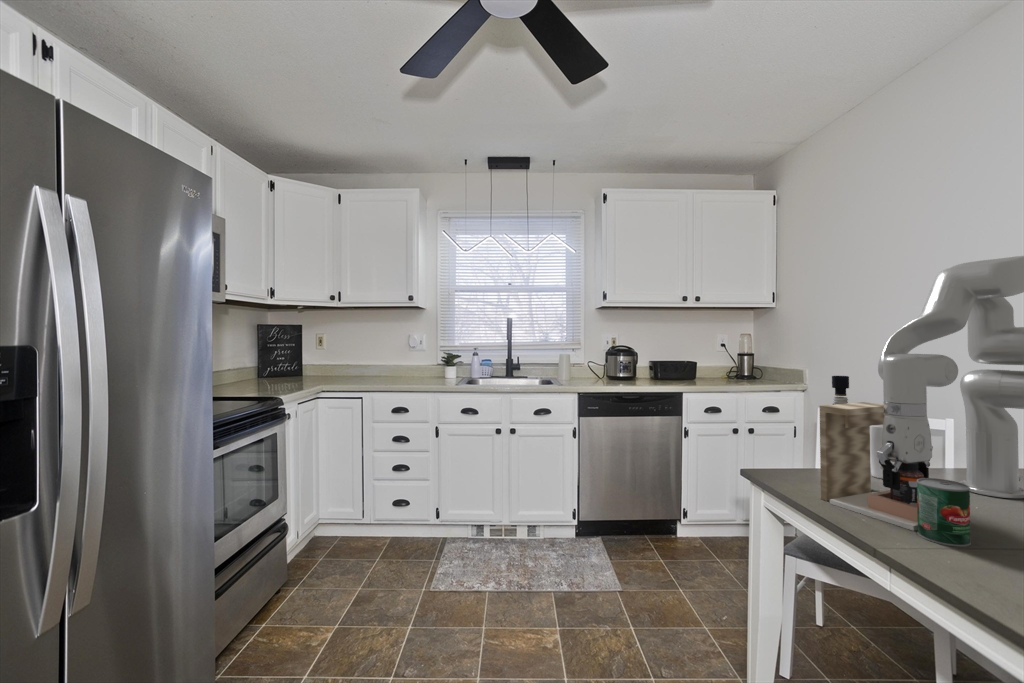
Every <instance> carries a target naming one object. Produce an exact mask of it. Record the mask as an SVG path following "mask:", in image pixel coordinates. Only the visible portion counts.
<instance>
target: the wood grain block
mask: <svg viewBox="0 0 1024 683" xmlns="http://www.w3.org/2000/svg"><path fill="white" fill-rule="evenodd" d="M884 417H885V416H884V403H882V404H881V403H874V402H865V401H863V402H862V401H861V402H848V403H847V404H835V405H833V404H824V405H823V404H822V405H819V446H820V447H819V451H820V452H819V455H820V458H819V459H820V460H819V461H820V500H822V501H825V502H828V501H829V502H830V499H835V498H841V497H846V496H852V495H858V494H863V493H869V492H872V485H871V484H872V481H871V478H872V475H871V466H870V426H874V425H883V423H884Z"/></svg>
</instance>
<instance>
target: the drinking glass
mask: <svg viewBox="0 0 1024 683" xmlns="http://www.w3.org/2000/svg"><path fill="white" fill-rule="evenodd" d="M882 432H883V425H874V426H870V471H871V477H872V476H873V477H874V478H876V479H882V480H883V469H881V465H880V463H879V459H878V456H877V451H878V450H879V449H880V448H882ZM890 462H891V463H892V464H894V462H892V461H890Z"/></svg>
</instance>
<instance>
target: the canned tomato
mask: <svg viewBox="0 0 1024 683" xmlns="http://www.w3.org/2000/svg"><path fill="white" fill-rule="evenodd" d="M959 482H960V481H959ZM959 482H958V481H954V480H949V479H945V478H944V479H943V478H935V477H929V478H921V479H918V480H917V506H918V508H917V509H918V512H917V513H918V530H917V535H918V536H919V537H921V538H922V539H924V540H926V541H929V542H932V543H935V544H939V545H942V546H949V547H956V548H957V547H958V548H959V547H961V548H963V547H964V548H965V547H970V546H971V544H972V542H971V500H970V499H971V491H970V487H969V486H967V485H965V484H962V483H959Z"/></svg>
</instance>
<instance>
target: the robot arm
mask: <svg viewBox="0 0 1024 683" xmlns="http://www.w3.org/2000/svg"><path fill="white" fill-rule="evenodd" d="M1023 293H1024V255H1017V256H1009V257H1008V256H1007V257H1002V258H994V259H986V260H985V259H984V260H975V261H970V262H963V263H958V264H955V265H953V266H951V267H949V268H946V269H943V270H942V271H940V272H938V274H937V275H936V276H935V279H934V280H933V283H932V285H931V288H930V290H929V293H928V296H927V298H926V301H925V303H924V305H923V308H922V310H921V313H920V315H919V316H917V317H916V318H914V319H913V320H911V321H909V322H907V323H906V324H905V325H904V326H902V327H900V328H898V330H897V331H896V332H894V333H893V334H892V335H891V336H889V338H888V340H887V341H886V343H885V345H884V347H883V348H882V349H883V350H882V352H881V354H880V356H879V360H878V364H877V372H878V376H879V377H880V380H882V384H883V389H882V390H883V391H882V392H883V404H884V416H885V417H884V423H883V432H882V448H880V449H879V450H878V451H877V456H878V459H879V463H880V465H881V469H883V479H882V486H883V487H884V488H887V489H890V488H891V489H895V490H900V472H897V471H898V469H899V467H900V465H901V463H902V462H903V463H907V464H908V463H916V462H918V467H919V468H918V470H919V471H920V472H921V473H923V475H924V478H930V477H929V476H930V472H929V468H930V466H931V463H930V461H931V459H932V458H933V449H934V447H933V445H932V433H931V427H930V421H929V419H928V410H927V409H928V407H927V406H928V404H927V402H928V400H927V399H928V398H927V394H928V392H927V387H928V388H929V387H930V388H942V387H947V386H949V385H951V384H953V383H955V381H956V380H957V378H958V376H959V367H958V364H957V363H956V362H955V360H954V359H953V358H951V357H950V356H946V355H944V354H939V353H937V354H935V353H931V354H930V353H910V352H911V351H913V349H915V348H916V347H918V346H921V345H923V344H925V343H928V342H931V341H934V340H938V339H941V338H943V337H946V336H949V335H953V334H956V333H958V332H960V331H961V330H963V329H964V328H965V327H966V325H967V352H968V356H969V358H970V359H971V361H972V362H974V363H978V364H986V365H999V366H1000V365H1003V366H1024V326H1018V327H1017V326H1015V319H1014V318H1015V317H1014V316H1015V315H1014V314H1015V313H1014V311H1015V310H1014V308H1013V306H1012V304H1011V303H1010V302H1009V300H1007V299H1006V298H1007V297H1013V296H1017V295H1020V294H1023ZM959 388H960V393H961V397H962V400H963V401H962V402H963V405H964V413H965V446H966V448H965V449H966V450H965V451H966V454H965V455H966V456H965V457H966V479H963V480H960V481H959V483H962V484H965V485H967V486H969V487H970V493H975V494H979V495H982V496H983V495H984V496H989V497H995V498H1005V499H1024V488H1022V487H1020V482H1023V481H1024V476H1023V475H1022V474H1021V473H1020V472H1019V471H1020V470H1019V469H1020V468H1019V467H1020V466H1019V426H1018V423H1017V421H1016V420H1015V419H1014V417H1013V416H1012V415H1011V414H1010V413H1009V412H1008V411H1007V409H1017V410H1024V370H1011V369H1010V370H1009V369H975V370H971V371H968V372H966V373H964V375H962V376H961V379H960V382H959ZM890 461H892V462H894V464H892V463H891V462H890Z"/></svg>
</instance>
